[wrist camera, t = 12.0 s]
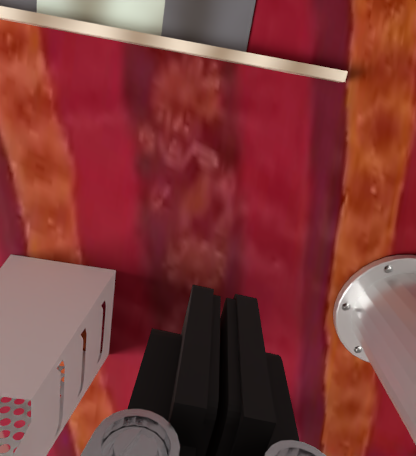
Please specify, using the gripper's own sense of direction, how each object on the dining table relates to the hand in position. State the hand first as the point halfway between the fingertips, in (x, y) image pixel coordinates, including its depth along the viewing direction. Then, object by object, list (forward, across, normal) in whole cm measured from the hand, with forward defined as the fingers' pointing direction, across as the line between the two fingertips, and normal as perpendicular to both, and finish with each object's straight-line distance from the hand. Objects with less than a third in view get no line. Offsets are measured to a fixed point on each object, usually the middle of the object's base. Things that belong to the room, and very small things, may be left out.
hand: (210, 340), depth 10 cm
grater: (+27, +13, +18) cm, 35 cm away
